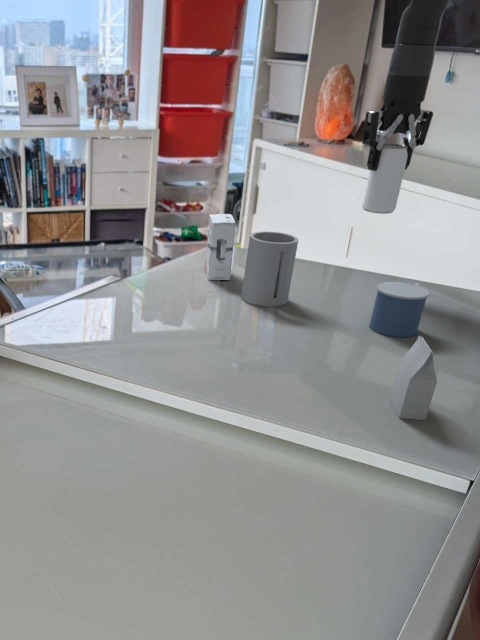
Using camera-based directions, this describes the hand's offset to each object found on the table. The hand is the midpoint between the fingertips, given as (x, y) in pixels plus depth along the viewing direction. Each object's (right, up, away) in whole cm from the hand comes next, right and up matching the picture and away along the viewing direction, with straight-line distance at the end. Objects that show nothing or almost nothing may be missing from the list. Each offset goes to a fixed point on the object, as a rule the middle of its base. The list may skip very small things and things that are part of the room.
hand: (387, 169), depth 150 cm
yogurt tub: (-3, -34, -10) cm, 36 cm away
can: (0, -7, +4) cm, 8 cm away
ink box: (-32, -17, +15) cm, 39 cm away
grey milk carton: (-12, -53, -38) cm, 66 cm away
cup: (-24, -25, +2) cm, 35 cm away
